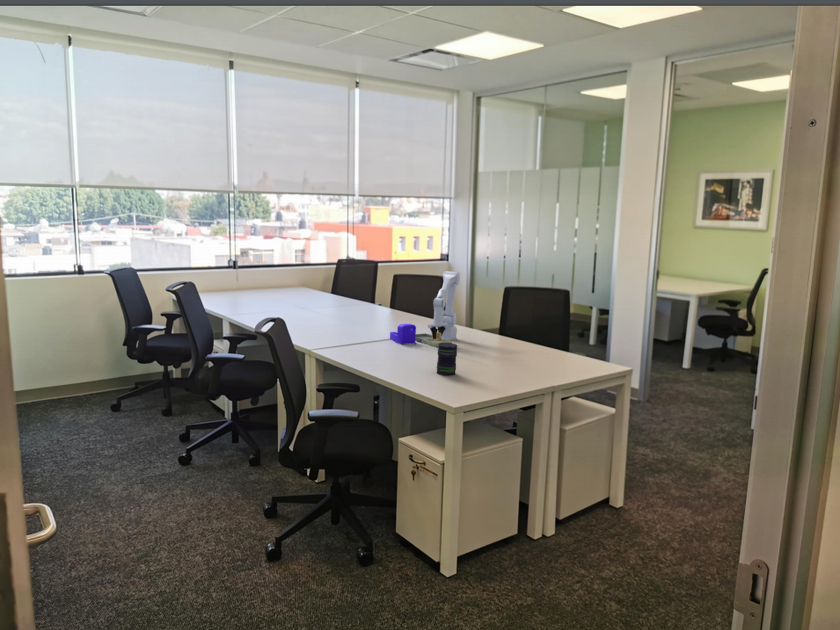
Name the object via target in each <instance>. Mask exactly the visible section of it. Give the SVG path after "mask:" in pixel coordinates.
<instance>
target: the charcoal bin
mask: <svg viewBox="0 0 840 630" xmlns="http://www.w3.org/2000/svg"><path fill="white" fill-rule="evenodd" d="M426 338H432V334H430V333H426V332H425V333H416V337H415V342H418V343H422V339H426Z"/></svg>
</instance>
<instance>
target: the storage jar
mask: <svg viewBox="0 0 840 630" xmlns="http://www.w3.org/2000/svg"><path fill="white" fill-rule="evenodd" d="M438 346H439V347H437V355H438V356H437V362H436V374H437V375H438V376H439V375H440V376H443V377H445V376H447V377H451V376H455V375H456V370H457V357H458V356H457V355H458V345H457V344H456V343H453V342H452V343H439V344H438Z"/></svg>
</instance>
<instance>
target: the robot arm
mask: <svg viewBox="0 0 840 630" xmlns="http://www.w3.org/2000/svg"><path fill="white" fill-rule="evenodd" d="M460 275H461V274H460V272H458V271H447V270H444V271H443V273H442V279H443V282H442V287H441V288H440V289H439V290H438V294H436V295H437V296H436V297H435V298H434V299H433V303H432V304H433V310H434V311H433V323H430V324H429V323H428V325H427V329H430V332H431V335H432V336H433V339H436V335H437V332H439V333H441V338H443V339H446V340H450V341H453V340H458V338H457V333H458V332H457V331H458V329H457V326H456V325H457V313H456V312H455V311H454V304H455V298H456V297H455V296H456V288H457V286H459V283H460V278H461V276H460Z"/></svg>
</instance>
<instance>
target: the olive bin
mask: <svg viewBox="0 0 840 630" xmlns="http://www.w3.org/2000/svg"><path fill="white" fill-rule="evenodd" d="M421 343H422V344H424V345H427V346H430V347H434V348H438V347H439V346H438V344H439V343H453V340H446V339H443V338H441V341H432V338H426V339H422V342H421Z"/></svg>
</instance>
